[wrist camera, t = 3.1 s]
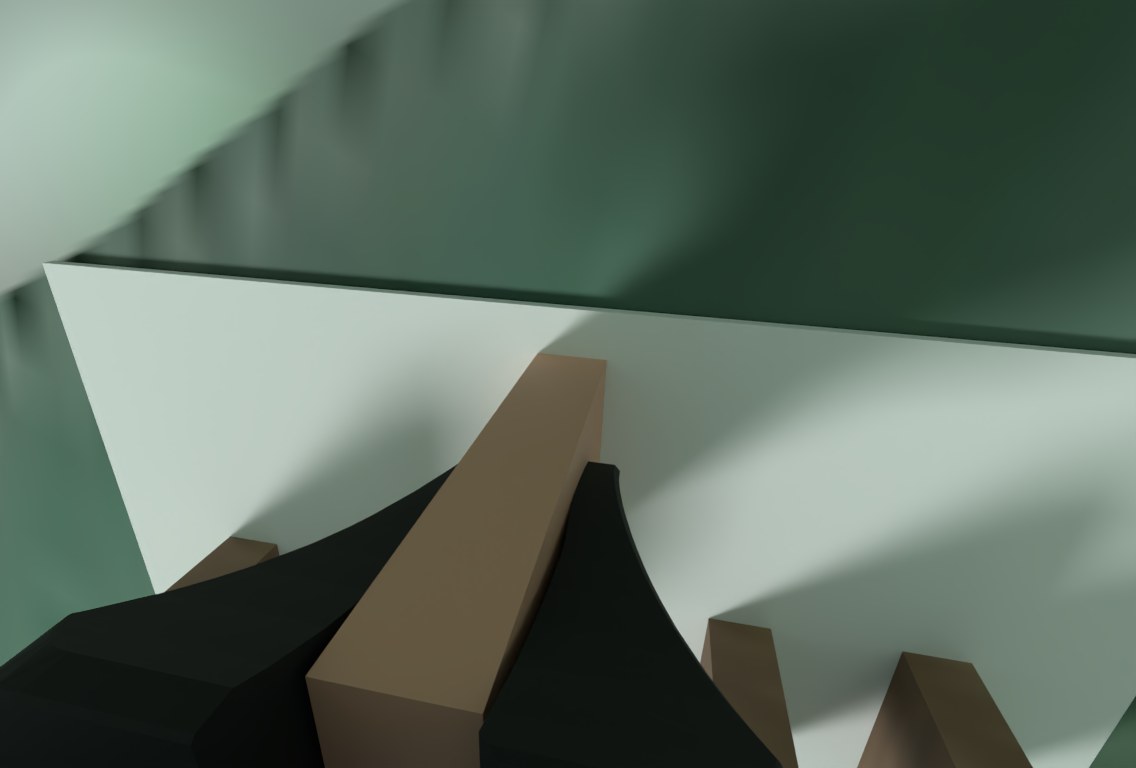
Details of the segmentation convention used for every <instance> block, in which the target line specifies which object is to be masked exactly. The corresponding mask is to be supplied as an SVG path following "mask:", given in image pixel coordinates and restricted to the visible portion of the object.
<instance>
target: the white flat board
mask: <svg viewBox="0 0 1136 768" xmlns="http://www.w3.org/2000/svg"><path fill="white" fill-rule="evenodd" d="M42 264H43V267H44V270H45V272H46V275H47V278H48V281H49V284H50V287H51V290H52V293H53V296H54V299H55V302H56V305H57V308H58V310H59V313H60V316H61V319H62V322H63V325H64V328H65V331H66V334H67V337H68V340H69V343H70V345H71V348H72V351H73V354H74V357H75V360H76V363H77V366H78V369H79V372H80V375H81V378H82V381H83V383H84V386H85V389H86V392H87V395H88V398H89V401H90V404H91V407H92V410H93V413H94V416H95V418H96V421H97V424H98V427H99V430H100V433H101V436H102V439H103V442H104V445H105V448H106V451H107V453H108V456H109V459H110V462H111V465H112V468H113V471H114V474H115V477H116V480H117V483H118V486H119V489H120V491H121V494H122V497H123V500H124V503H125V506H126V509H127V512H128V515H129V518H130V521H131V524H132V526H133V529H134V532H135V535H136V538H137V541H138V544H139V547H140V550H141V553H142V556H143V559H144V561H145V564H146V567H147V570H148V573H149V576H150V579H151V582H152V585H153V588H154V591H155V594H159V593H163V592H165V591H166V590H167V589H168V588H170V587H171V586H172V585H173V584H174V583H176V582H177V581H178V580H179V579H180V578H181V577H183V576H184V575H185V574H186V573H187V572H189V571H190V570H191V569H192V568H193V567H194V566H196V565H197V564H198V563H199V562H200V561H202V560H203V559H204V558H205V557H206V556H207V555H209V554H210V553H211V552H212V551H213V550H215V549H216V548H217V547H218V546H219V545H221V544H222V543H223V542H224V541H225V540H226V539H228V538H229V537H230V536H232V537H238V538H243V539H249V540H255V541H261V542H267V543H273V544H277V547H278V551H279V556H280V555H283V554H285V553H288V552H291V551H293V550H296V549H299V548H301V547H304V546H307V545H309V544H312V543H314V542H316V541H319V540H321V539H323V538H325V537H328V536H330V535H332V534H334V533H336V532H339V531H341V530H343V529H345V528H347V527H350V526H352V525H354V524H356V523H358V522H360V521H362V520H364V519H366V518H368V517H369V516H371V515H373V514H375V513H377V512H379V511H380V510H382V509H384V508H386V507H387V506H389V505H391V504H393V503H395V502H396V501H398V500H400V499H402V498H403V497H405V496H407V495H409V494H411V493H412V492H414V491H416V490H417V489H419V488H421V487H422V486H424V485H425V484H427V483H428V482H430V481H432V480H433V479H435V478H436V477H438V476H440V475H441V474H443V473H444V472H446V471H447V470H449V469H451V468H452V467H454V466H455V465H457V464H458V463H459V462H460V460H461V459H462V457H463V456H464V455H465V453H466V452H467V451H468V449H469V448H470V446H471V445H472V444H473V442H474V441H475V439H476V438H477V437H478V435H479V434H480V432H481V431H482V430H483V428H484V427H485V425H486V424H487V423H488V421H489V420H490V419H491V417H492V416H493V414H494V413H495V412H496V410H497V409H498V407H499V406H500V405H501V403H502V402H503V400H504V399H505V398H506V396H507V395H508V393H509V392H510V391H511V389H512V388H513V387H514V385H515V384H516V382H517V381H518V380H519V378H520V377H521V375H522V374H523V373H524V371H525V370H526V368H527V367H528V366H529V364H530V363H531V361H532V360H533V359H534V357H535V356H536V355H537V353H542V354H551V355H561V356H571V357H581V358H591V359H601V360H607V365H606V379H605V393H604V407H603V421H602V435H601V449H600V463H605V464H613V465H616V467H617V468H618V469H619V470H620V476H619V486H620V493H621V498H622V503H623V507H624V511H625V514H626V518H627V521H628V524H629V527H630V531H631V534H632V537H633V539H634V542H635V545H636V548H637V550H638V552H639V555H640V557H641V560H642V562H643V565H644V567H645V569H646V571H647V574H648V576H649V578H650V580H651V582H652V584H653V586H654V588H655V590H656V592H657V594H658V596H659V598H660V600H661V602H662V604H663V605H664V607H665V609H666V610H667V612H668V614H669V616H670V617H671V619H672V621H673V623H674V624H675V626H676V628H677V629H678V631H679V632H680V634H681V635H682V637H683V638H684V640H685V641H686V643H687V644H688V646H689V647H690V649H691V650H692V652H693V653H694V655H695V656H696V658H697V659H698V661H699V662H700V661H701V656H702V650H703V645H704V640H705V635H706V629H707V624H708V619H709V618H711V619H717V620H722V621H728V622H734V623H740V624H746V625H752V626H758V627H763V628H769V629H771V631H772V636H773V641H774V646H775V651H776V656H777V661H778V666H779V671H780V676H781V681H782V686H783V691H784V696H785V701H786V707H787V712H788V717H789V722H790V727H791V732H792V737H793V742H794V747H795V752H796V757H797V762H798V767H799V768H857V767H858V764H859V761H860V759H861V756H862V754H863V751H864V749H865V746H866V744H867V741H868V738H869V736H870V733H871V731H872V728H873V726H874V723H875V720H876V718H877V715H878V713H879V710H880V708H881V705H882V703H883V700H884V697H885V695H886V692H887V690H888V687H889V685H890V682H891V680H892V677H893V674H894V672H895V669H896V667H897V664H898V662H899V659H900V656H901V654H902V651H904V652H910V653H915V654H921V655H927V656H933V657H939V658H945V659H951V660H956V661H962V662H968V663H972V664H973V666H974V667H975V669H976V671H977V673H978V674H979V676H980V678H981V679H982V681H983V683H984V685H985V686H986V688H987V690H988V691H989V693H990V695H991V697H992V698H993V700H994V702H995V703H996V705H997V707H998V709H999V710H1000V712H1001V714H1002V715H1003V717H1004V719H1005V721H1006V722H1007V724H1008V726H1009V727H1010V729H1011V731H1012V733H1013V734H1014V736H1015V738H1016V739H1017V741H1018V743H1019V745H1020V746H1021V748H1022V750H1023V751H1024V753H1025V755H1026V757H1027V758H1028V760H1029V762H1030V763H1031V765H1032V767H1033V768H1089V766H1090V765H1091V763H1092V762H1093V760H1094V759H1095V757H1096V756H1097V754H1098V753H1099V751H1100V750H1101V748H1102V747H1103V745H1104V744H1105V742H1106V740H1107V739H1108V737H1109V736H1110V734H1111V733H1112V731H1113V730H1114V728H1115V727H1116V725H1117V724H1118V722H1119V721H1120V719H1121V718H1122V716H1123V714H1124V713H1125V711H1126V710H1127V708H1128V707H1129V705H1130V704H1131V702H1132V701H1133V699H1134V698H1135V696H1136V354H1128V353H1116V352H1105V351H1093V350H1081V349H1070V348H1058V347H1047V346H1035V345H1023V344H1012V343H1000V342H989V341H977V340H966V339H954V338H942V337H931V336H919V335H908V334H896V333H885V332H873V331H861V330H850V329H838V328H827V327H815V326H803V325H792V324H780V323H769V322H757V321H746V320H734V319H722V318H711V317H699V316H688V315H676V314H665V313H653V312H641V311H630V310H618V309H607V308H595V307H583V306H572V305H560V304H549V303H537V302H526V301H514V300H502V299H491V298H479V297H468V296H456V295H445V294H433V293H421V292H410V291H398V290H387V289H375V288H364V287H352V286H340V285H329V284H317V283H306V282H294V281H282V280H271V279H259V278H248V277H236V276H225V275H213V274H201V273H190V272H178V271H167V270H155V269H144V268H132V267H120V266H109V265H97V264H86V263H74V262H62V261H50V262H44V263H42Z"/></svg>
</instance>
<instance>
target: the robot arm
mask: <svg viewBox="0 0 1136 768" xmlns="http://www.w3.org/2000/svg"><path fill="white" fill-rule="evenodd" d="M456 466H457V465H455V466H454V467H452V468H451V469H449V470H447V471H446V472H444V473H443V474H441V475H440V476H438V477H436V478H435V479H433V480H432V481H430V482H428V483H427V484H425V485H424V486H422V487H421V488H419V489H417V490H416V491H414V492H412V493H411V494H409V495H407V496H405V497H403V498H402V499H400V500H398V501H396V502H395V503H393V504H391V505H389V506H387V507H386V508H384V509H382V510H380V511H379V512H377V513H375V514H373V515H371V516H369V517H368V518H366V519H364V520H362V521H360V522H358V523H356V524H354V525H352V526H350V527H347V528H345V529H343V530H341V531H339V532H336V533H334V534H332V535H330V536H328V537H325V538H323V539H321V540H319V541H316V542H314V543H312V544H309V545H307V546H304V547H301V548H299V549H296V550H293V551H291V552H288V553H285V554H283V555H280V556H278V557H275V558H272V559H270V560H267V561H264V562H262V563H259V564H256V565H254V566H251V567H248V568H245V569H241V570H238V571H235V572H232V573H229V574H226V575H223V576H220V577H216V578H213V579H210V580H206V581H203V582H199V583H196V584H192V585H189V586H185V587H182V588H178V589H175V590H171V591H167V592H163V593H159V594H155V595H151V596H147V597H142V598H138V599H134V600H130V601H125V602H121V603H117V604H113V605H108V606H104V607H100V608H96V609H91V610H87V611H82V612H77V613H72V614H70V615H68V616H67V617H65V618H64V619H63V620H61V621H60V622H59V623H57V624H56V625H55V626H54V627H52V628H51V629H50V630H48V631H47V632H46V633H44V634H43V635H42V636H40V637H39V638H38V639H37V640H35V641H34V642H33V643H31V644H30V645H29V646H27V647H26V648H25V649H23V650H22V651H21V652H19V653H18V654H17V655H16V656H14V657H13V658H12V659H10V660H9V661H8V662H6V663H5V664H4V665H2V666H1V667H0V768H325V766H324V761H323V756H322V752H321V747H320V743H319V738H318V733H317V729H316V724H315V720H314V715H313V710H312V706H311V701H310V697H309V692H308V687H307V683H306V678H305V676H306V675H307V673H308V672H309V670H310V669H311V668H312V666H313V665H314V663H315V662H316V661H317V659H318V658H319V657H320V655H321V654H322V652H323V651H324V650H325V648H326V647H327V645H328V644H329V643H330V641H331V640H332V638H333V637H334V636H335V634H336V633H337V631H338V630H339V629H340V627H341V626H342V624H343V623H344V622H345V620H346V619H347V618H348V616H349V615H350V613H351V612H352V611H353V609H354V608H355V606H356V605H357V604H358V602H359V601H360V599H361V598H362V597H363V595H364V594H365V592H366V591H367V590H368V588H369V587H370V586H371V584H372V583H373V581H374V580H375V579H376V577H377V576H378V574H379V573H380V572H381V570H382V569H383V567H384V566H385V565H386V563H387V562H388V560H389V559H390V558H391V556H392V555H393V554H394V552H395V551H396V549H397V548H398V547H399V545H400V544H401V542H402V541H403V540H404V538H405V537H406V535H407V534H408V533H409V531H410V530H411V528H412V527H413V526H414V524H415V523H416V522H417V520H418V519H419V517H420V516H421V515H422V513H423V512H424V510H425V509H426V508H427V506H428V505H429V503H430V502H431V501H432V499H433V498H434V496H435V495H436V494H437V492H438V491H439V490H440V488H441V487H442V485H443V484H444V483H445V481H446V480H447V478H448V477H449V476H450V474H451V473H452V471H453V470H454V469H455V467H456ZM619 476H620V470H619V469H618V468H617V467H616V465H613V464H605V463H597V462H590V461H588V463H587V465H586V466H585V468H584V470H583V473H582V475H581V477H580V480H579V482H578V485H577V487H576V490H575V492H574V495H573V498H572V504H571V509H570V515H569V521H568V526H567V532H566V538H565V542H564V546H563V549H562V553H561V556H560V559H559V561H558V564H557V567H556V569H555V572H554V575H553V577H552V580H551V583H550V585H549V588H548V590H547V593H546V595H545V598H544V600H543V603H542V605H541V607H540V610H539V612H538V615H537V617H536V619H535V622H534V624H533V626H532V628H531V631H530V633H529V635H528V637H527V639H526V641H525V644H524V646H523V648H522V650H521V652H520V654H519V657H518V659H517V661H516V663H515V665H514V667H513V669H512V671H511V673H510V675H509V677H508V678H507V680H506V682H505V684H504V686H503V688H502V690H501V692H500V694H499V696H498V698H497V699H496V701H495V703H494V705H493V707H492V709H491V711H490V713H489V714H488V716H487V718H486V720H485V721H484V723H483V725H482V727H481V728H480V730H479V755H480V768H783V767H782V765H781V763H780V762H779V761H778V759H777V758H776V757H775V756H774V755H773V754H772V753H771V751H770V750H769V749H768V748H767V747H766V746H765V745H764V743H763V742H762V741H761V740H760V739H759V738H758V737H757V735H756V734H755V733H754V732H753V731H752V730H751V729H750V727H749V726H748V725H747V724H746V723H745V721H744V720H743V719H742V718H741V717H740V715H739V714H738V713H737V712H736V711H735V709H734V708H733V707H732V706H731V704H730V703H729V702H728V700H727V699H726V698H725V696H724V695H723V694H722V693H721V691H720V690H719V689H718V687H717V686H716V685H715V683H714V682H713V681H712V679H711V678H710V677H709V675H708V674H707V673H706V671H705V670H704V668H703V667H702V665H701V664H700V662H699V661H698V659H697V658H696V656H695V655H694V653H693V652H692V650H691V649H690V647H689V646H688V644H687V643H686V641H685V640H684V638H683V637H682V635H681V634H680V632H679V631H678V629H677V628H676V626H675V624H674V623H673V621H672V619H671V617H670V616H669V614H668V612H667V610H666V609H665V607H664V605H663V604H662V602H661V600H660V598H659V596H658V594H657V592H656V590H655V588H654V586H653V584H652V582H651V580H650V578H649V576H648V574H647V571H646V569H645V567H644V565H643V562H642V560H641V557H640V555H639V552H638V550H637V548H636V545H635V542H634V539H633V537H632V534H631V531H630V527H629V524H628V521H627V518H626V514H625V511H624V507H623V503H622V498H621V493H620V486H619Z"/></svg>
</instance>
